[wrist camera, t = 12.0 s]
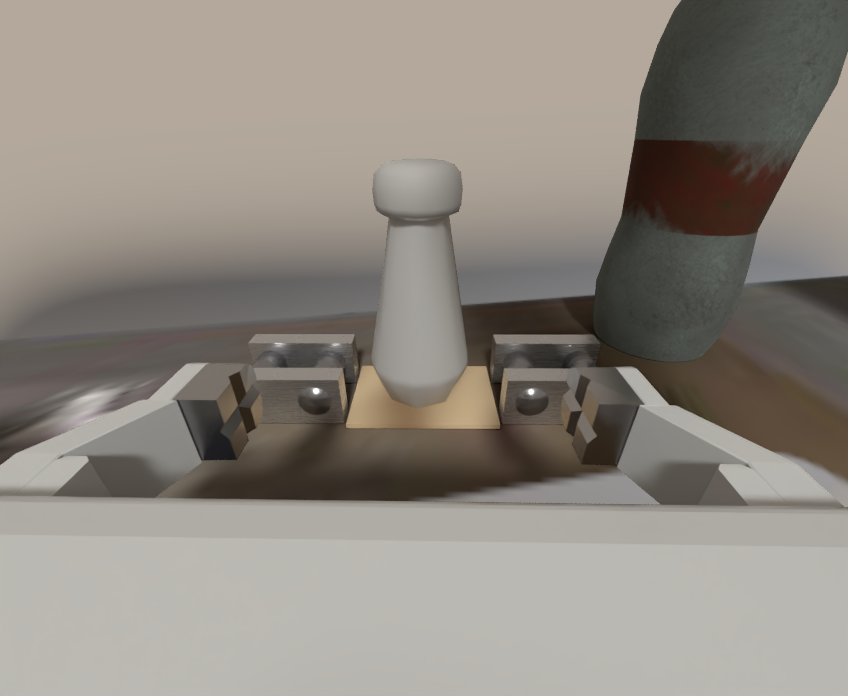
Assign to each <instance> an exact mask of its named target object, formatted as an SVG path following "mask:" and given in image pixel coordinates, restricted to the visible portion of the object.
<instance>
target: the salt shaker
mask: <svg viewBox="0 0 848 696" xmlns="http://www.w3.org/2000/svg"><path fill="white" fill-rule="evenodd" d="M372 190H373V198H374V205H375V207H376V210H377V211H378V212H379V213H381V214H382V215H384V216H387V217H388V218H389V221H388V230H387V241H386V249H385V259H384V267H383V275H382V282H381V290H380V297H379V304H378V312H377V319H376V327H375V334H374V342H373V349H372V357H371V359H372V363H373V366H374V369H375V371H376V373H377V375H378V377H379V378H380V380H381V382H382V383H383V385H384V387H385V389H386V390H387V392H388V394H389V395H390V397H391V399H392V400H395V401H398V402H400V403H403V404H406V405H409V406H411V407H414V408H417V409H418V408H422V407H426V406H430V405H434V404H438V403H442V402H445V401H446V399H447V398H448V396H449V394H450V392H451V390H452V388H453V387H454V385H455V384H456V382H457V381H458V380H459V378H460V377H461V375H462V374H463V373H464V371H465V370H466V366H467V362H468V361H467V345H466V337H465V330H464V323H463V315H462V308H461V301H460V293H459V286H458V278H457V271H456V264H455V256H454V249H453V242H452V235H451V227H450V219H449V215H451V214H454V213H456V212H459V209H460V206H461V199H462V179H461V172H460V171H459V170H458V168H457V167H456V166H455V165H454V164H452V163H449V162H446V161H443V160H435V159H402V160H394V161H390V162H388V163H385V164H383V165H381V166H380V167H379V168H378V170H377V171H376V172H375V173H374V178H373V189H372Z"/></svg>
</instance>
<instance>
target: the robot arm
mask: <svg viewBox="0 0 848 696" xmlns="http://www.w3.org/2000/svg"><path fill="white" fill-rule="evenodd" d="M256 379H257V378H256V374H255V371H254V368H253V367H252V366H251V365H249V364H225V363H189V364H186V365H185V366H184V367H183V368H182V369H180V370H179V371H178V372H177V373H176V374H175V375H174V376H173V377H172V378H171V379H170V380H169V381H168V382H166V383H165V384H164V385H163V386H162V387H161V388H160V389H159V390H158V391H157V392H156V393H155V394H154V395H153V396H151V397H150V398H149V399H148V400H140V401H138V402H135V403H133V404H131V405H128V406H126V407H124V408H121V409H119V410H117V411H114V412H112V413H110V414H107V415H105V416H103V417H100V418H98V419H95V420H93V421H91V422H88V423H86V424H84V425H81V426H79V427H77V428H74V429H72V430H70V431H67V432H65V433H63V434H60V435H58V436H56V437H53V438H51V439H49V440H46V441H44V442H42V443H39V444H37V445H35V446H32V447H30V448H27V449H25V450H23V451H20V452H18V453H16V454H14V455H13V456H12V457H10V458H9V459H8V460H7V461H5V462H4V463H3V464H1V465H0V696H848V507H844V506H843V505H842V504H840V503H839V502H838V501H837V500H836V499H835V498H834V497H833V496H832V495H831V494H830V493H828V492H827V491H826V490H825V489H824V488H823V487H822V486H821V485H820V484H818V483H817V482H816V481H815V480H814V479H813V478H812V477H811V476H810V475H808V474H807V473H806V472H805V471H804V470H803V469H802V468H801V467H800V466H799V465H797V464H796V463H794V462H792V461H790V460H788V459H786V458H784V457H782V456H779V455H777V454H775V453H773V452H771V451H769V450H767V449H765V448H763V447H761V446H759V445H757V444H755V443H753V442H750V441H748V440H746V439H744V438H742V437H740V436H738V435H736V434H734V433H732V432H730V431H728V430H726V429H724V428H722V427H719V426H717V425H715V424H713V423H711V422H709V421H707V420H705V419H703V418H701V417H699V416H697V415H695V414H693V413H690V412H688V411H686V410H684V409H682V408H680V407H678V406H670V405H669V404H668V403H667V402H666V401H665V400H664V399H663V398H662V396H661V395H660V394H659V393H658V392H657V391H656V390H655V389H654V387H653V386H652V385H651V384H650V383H649V382H648V381H647V380H646V378H645V377H644V376H643V375H642V374H641V373H640V372H639V370H638V369H636V368H634V367H592V368H571V369H570V371H569V373H568V377H567V381H566V382H567V384H568V385H569V387H570V390H569V391H568V392H567V393H565V394H564V395H563V399H562V404H561V418H562V422H563V425H564V428H565V430H566V432H568V433H569V434H571V435H572V436H573V437H574V438H573V442H572V445H573V448H574V450H575V452H576V454H577V456H578V458H579V460H580V463H581V464H583V465H609V466H617V468H618V469H620V470H621V471H622V472H623V473H624V474H625V475H627V476H628V477H629V478H630V479H632V480H633V481H634V482H635V483H636V484H637V485H638V486H640V487H641V488H642V489H643V490H644V491H646V492H647V493H648V494H649V495H650V496H652V497H653V498H654V499H655V500H656V501H657V502H659V503H660V504H661V505H639V504H637V505H636V504H635V505H634V504H566V503H565V504H564V503H562V504H561V503H499V502H496V503H495V502H429V501H348V500H271V499H201V498H155V497H156V496H158V495H159V494H160V493H162V492H163V491H164V490H166V489H167V488H168V487H170V486H171V485H172V484H174V483H175V482H176V481H178V480H179V479H180V478H182V477H183V476H184V475H186V474H187V473H188V472H190V471H191V470H192V469H194V468H195V467H196V466H198V465H199V464H200V463H202V461H209V460H237V459H238V457H239V456H240V454H241V452H242V451H243V449H244V447H245V446H246V444H247V442H248V441H249V440H248V436H247V433H249V432H250V431H252V430H254V429H255V428H256V427H257V425H258V424H259V422H260V420H261V416H262V411H263V400H262V396H261V393H260V392H259V391H258V390H257V389H256V388H255V387H254V386H253V384H254V382H255V381H256Z"/></svg>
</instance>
